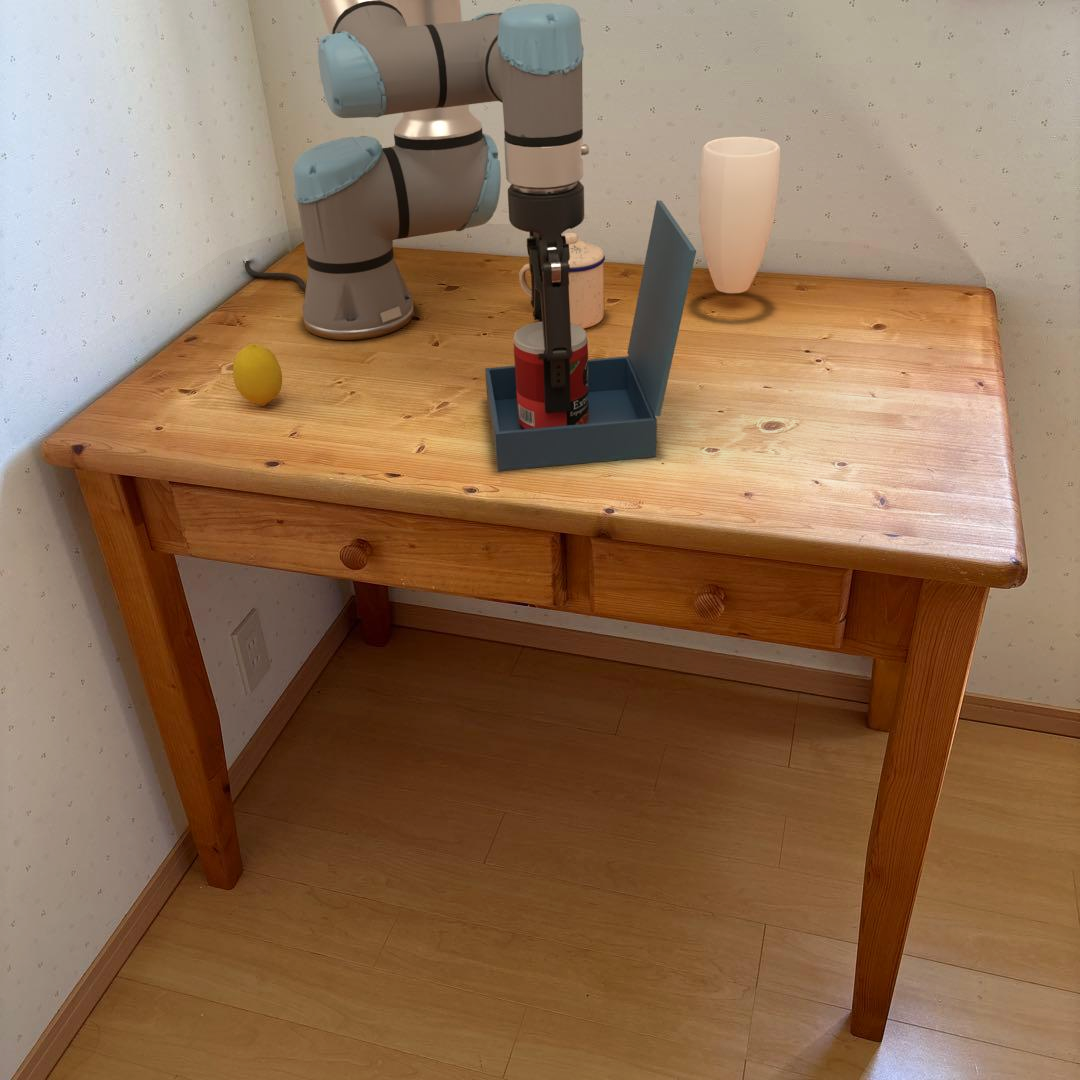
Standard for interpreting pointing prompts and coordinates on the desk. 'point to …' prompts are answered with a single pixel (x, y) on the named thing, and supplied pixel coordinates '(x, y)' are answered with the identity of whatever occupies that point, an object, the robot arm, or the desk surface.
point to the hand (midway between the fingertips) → (553, 392)
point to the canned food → (532, 379)
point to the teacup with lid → (581, 282)
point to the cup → (737, 207)
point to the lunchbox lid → (660, 304)
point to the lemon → (257, 374)
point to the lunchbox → (609, 435)
